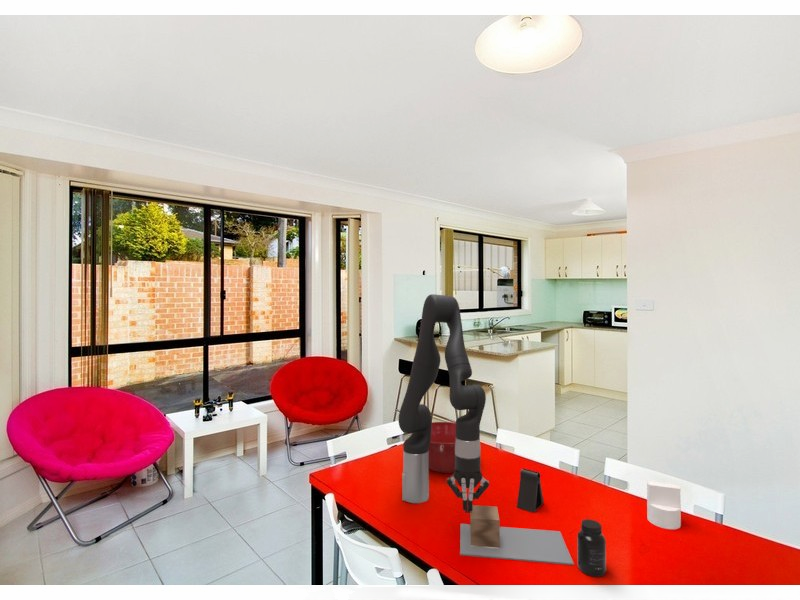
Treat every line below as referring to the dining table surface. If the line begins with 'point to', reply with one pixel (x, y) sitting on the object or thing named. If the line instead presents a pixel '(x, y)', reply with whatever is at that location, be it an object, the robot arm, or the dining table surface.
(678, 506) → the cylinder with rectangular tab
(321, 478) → the dining table surface
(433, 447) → the mixing bowl
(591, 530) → the supplement bottle
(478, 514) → the walnut block
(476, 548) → the rubber mat
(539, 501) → the black coffee bag
